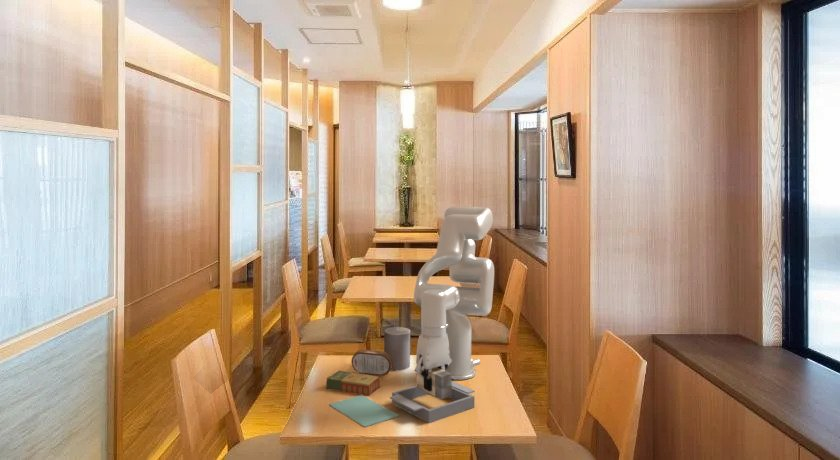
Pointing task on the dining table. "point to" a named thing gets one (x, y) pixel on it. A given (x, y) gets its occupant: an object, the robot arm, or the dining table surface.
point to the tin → (372, 362)
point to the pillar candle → (398, 346)
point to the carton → (353, 383)
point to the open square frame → (430, 415)
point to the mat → (363, 410)
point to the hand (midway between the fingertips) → (433, 387)
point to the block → (437, 383)
